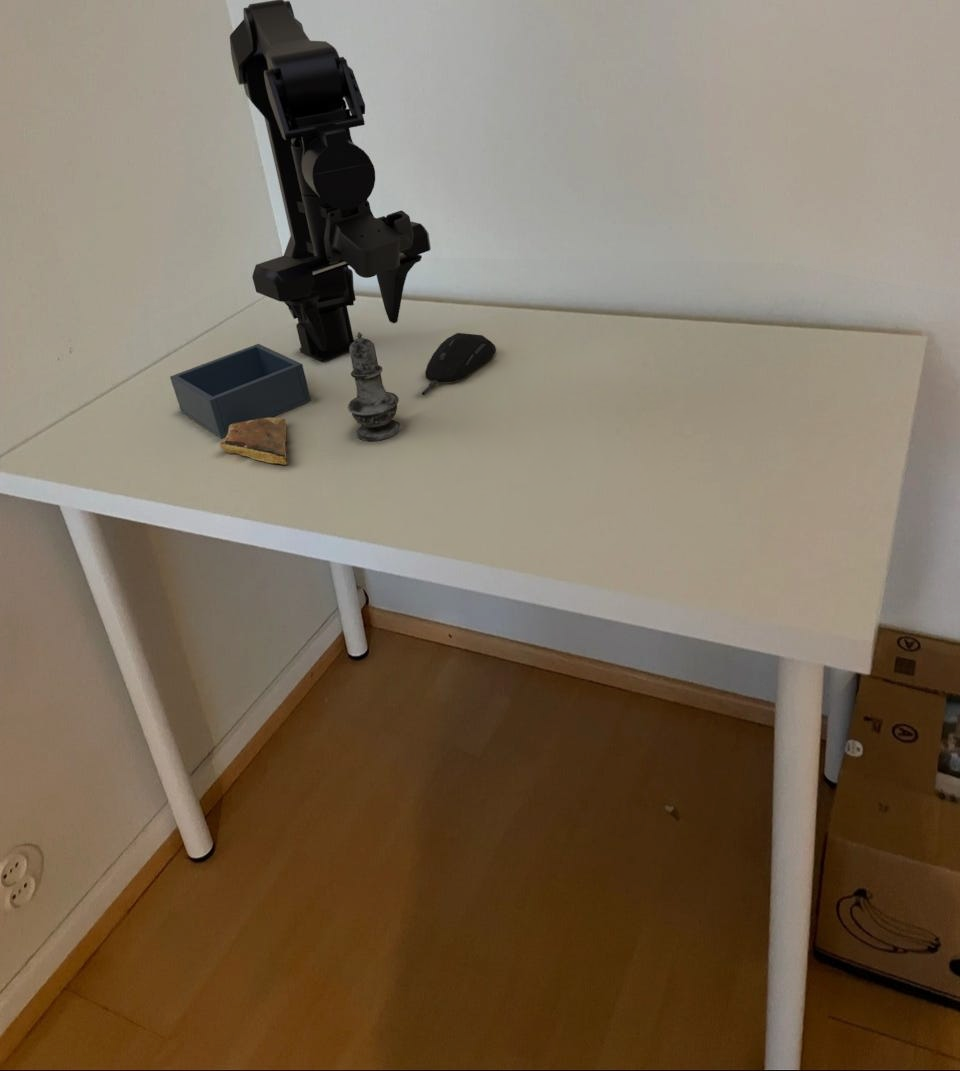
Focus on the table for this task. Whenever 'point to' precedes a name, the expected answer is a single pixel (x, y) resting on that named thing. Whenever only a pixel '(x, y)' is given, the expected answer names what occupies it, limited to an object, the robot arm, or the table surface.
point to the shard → (258, 439)
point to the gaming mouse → (458, 358)
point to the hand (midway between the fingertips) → (359, 335)
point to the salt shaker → (371, 395)
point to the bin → (240, 388)
